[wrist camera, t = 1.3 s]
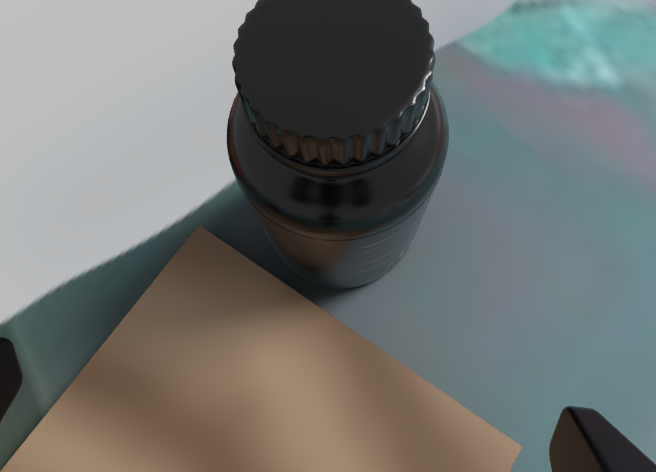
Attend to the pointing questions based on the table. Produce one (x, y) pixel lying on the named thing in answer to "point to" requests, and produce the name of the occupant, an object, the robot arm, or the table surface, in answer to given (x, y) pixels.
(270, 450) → the board
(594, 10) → the table surface
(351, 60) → the supplement bottle
